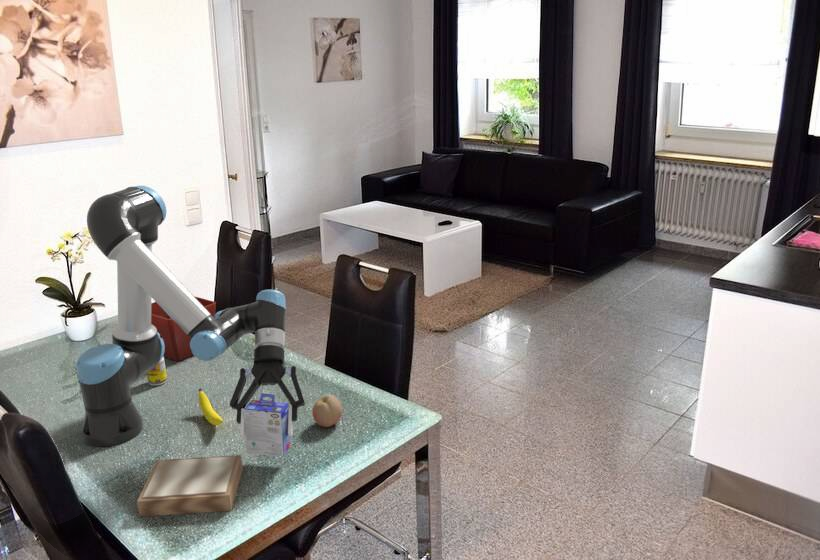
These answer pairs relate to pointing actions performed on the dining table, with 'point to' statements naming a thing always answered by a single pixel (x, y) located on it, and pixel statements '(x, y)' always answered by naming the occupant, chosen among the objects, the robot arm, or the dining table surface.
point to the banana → (208, 410)
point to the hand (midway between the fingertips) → (266, 435)
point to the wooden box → (191, 486)
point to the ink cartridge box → (267, 427)
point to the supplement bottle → (157, 374)
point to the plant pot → (175, 331)
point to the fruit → (327, 411)
